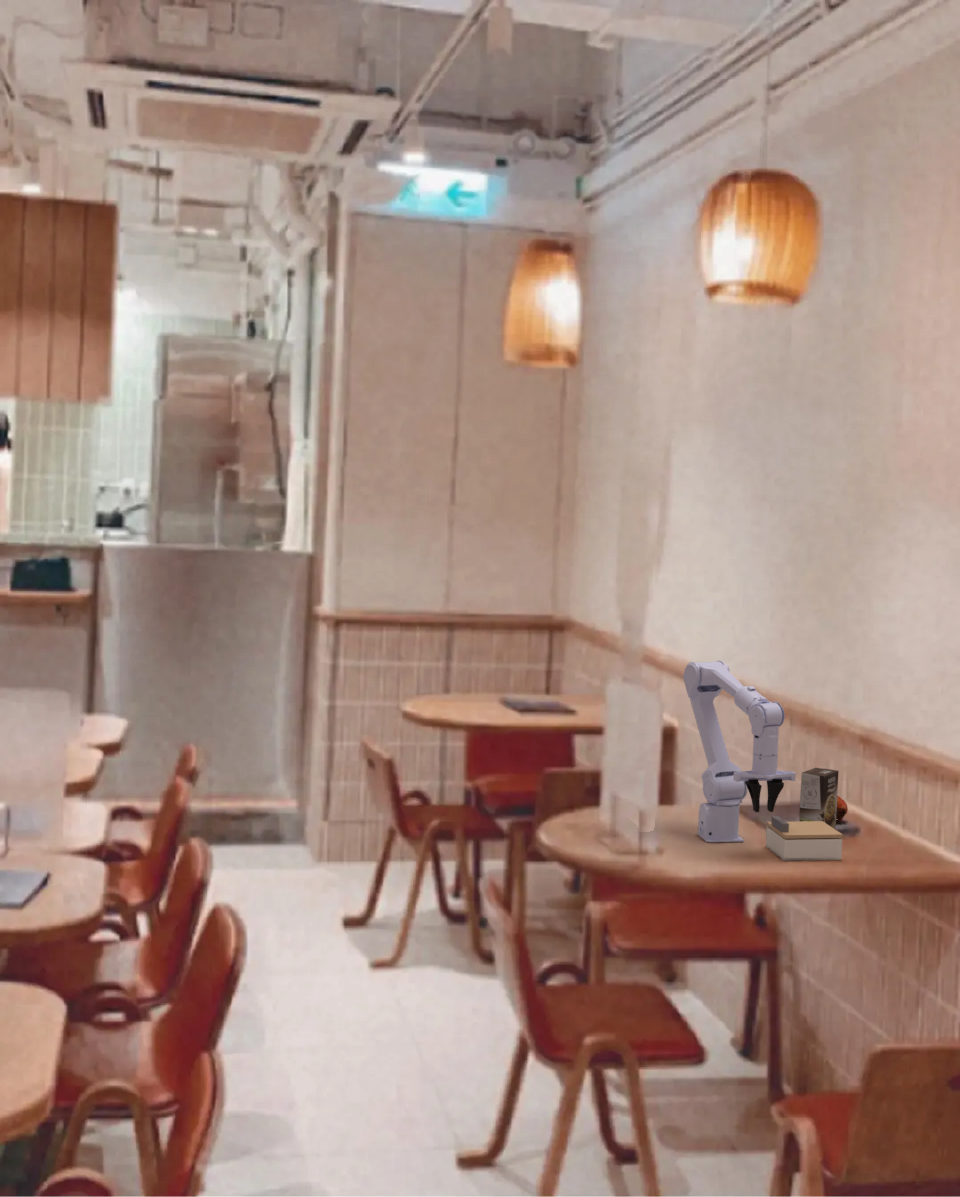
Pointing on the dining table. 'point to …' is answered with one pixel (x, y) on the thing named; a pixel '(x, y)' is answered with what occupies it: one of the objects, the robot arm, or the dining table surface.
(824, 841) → the mailer base
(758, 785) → the robot arm
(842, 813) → the pomegranate
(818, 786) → the coffee box
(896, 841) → the dining table surface
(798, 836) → the mailer lid
